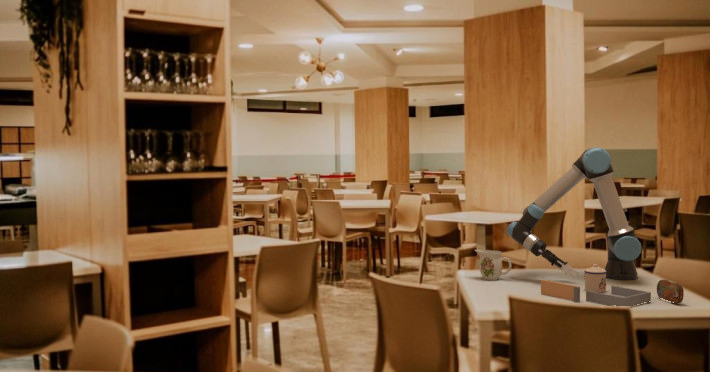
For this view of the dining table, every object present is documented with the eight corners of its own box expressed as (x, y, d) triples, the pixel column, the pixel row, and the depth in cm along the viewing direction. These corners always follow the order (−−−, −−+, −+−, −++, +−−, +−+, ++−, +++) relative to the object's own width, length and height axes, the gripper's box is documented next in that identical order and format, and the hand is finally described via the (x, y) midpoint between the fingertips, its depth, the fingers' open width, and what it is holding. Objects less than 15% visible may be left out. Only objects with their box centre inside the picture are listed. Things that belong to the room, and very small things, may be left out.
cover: (540, 293, 272) (540, 279, 272) (542, 293, 273) (542, 279, 272) (578, 301, 256) (578, 286, 256) (580, 301, 257) (580, 286, 257)
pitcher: (508, 282, 298) (508, 253, 297) (471, 279, 306) (471, 251, 306) (514, 278, 307) (514, 250, 307) (478, 275, 316) (478, 248, 315)
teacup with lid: (603, 294, 270) (603, 266, 269) (581, 291, 275) (581, 264, 275) (611, 289, 279) (611, 262, 279) (590, 287, 285) (589, 261, 284)
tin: (655, 297, 261) (656, 277, 261) (663, 297, 262) (663, 277, 261) (677, 306, 246) (677, 284, 246) (685, 305, 247) (685, 284, 246)
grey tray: (608, 294, 269) (608, 280, 269) (650, 302, 253) (650, 287, 253) (573, 301, 256) (573, 287, 256) (615, 310, 240) (615, 294, 240)
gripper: (539, 255, 310) (574, 282, 298) (521, 248, 290) (559, 276, 278) (548, 242, 309) (584, 269, 296) (531, 235, 289) (569, 263, 276)
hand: (572, 273), depth 287 cm, fingers open, 13 cm apart
